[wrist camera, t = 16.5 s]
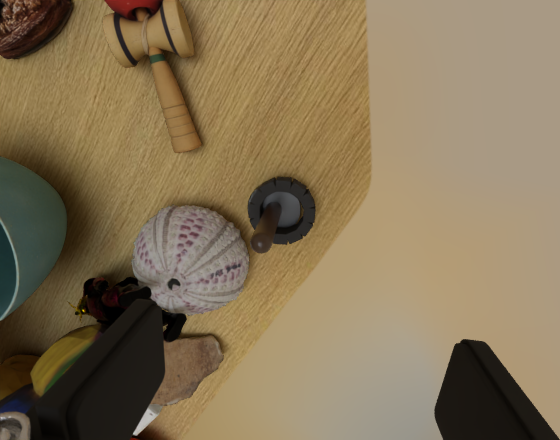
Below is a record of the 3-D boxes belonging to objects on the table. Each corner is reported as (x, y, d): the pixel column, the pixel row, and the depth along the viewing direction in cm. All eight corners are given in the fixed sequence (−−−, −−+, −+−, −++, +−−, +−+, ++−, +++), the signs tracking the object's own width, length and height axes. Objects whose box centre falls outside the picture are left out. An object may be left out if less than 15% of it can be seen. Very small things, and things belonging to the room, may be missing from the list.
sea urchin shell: (180, 176, 36) (145, 191, 28) (275, 244, 37) (267, 276, 30) (128, 259, 40) (86, 292, 32) (217, 317, 41) (196, 362, 34)
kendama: (234, 134, 35) (176, -67, 28) (211, 149, 30) (130, -96, 22) (176, 146, 38) (108, -36, 30) (145, 162, 32) (52, -55, 25)
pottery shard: (212, 316, 44) (102, 361, 41) (210, 315, 42) (93, 362, 39) (232, 376, 42) (116, 429, 39) (231, 378, 40) (107, 435, 36)
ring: (297, 165, 33) (296, 168, 31) (324, 221, 35) (325, 228, 33) (241, 193, 35) (236, 198, 33) (269, 246, 37) (267, 254, 34)
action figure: (174, 395, 29) (93, 364, 42) (217, 349, 34) (132, 334, 46) (93, 258, 26) (31, 269, 38) (153, 226, 30) (80, 246, 43)
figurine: (151, 373, 35) (32, 497, 31) (156, 352, 41) (59, 452, 38) (84, 314, 33) (-51, 437, 29) (100, 302, 40) (-8, 401, 36)
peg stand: (293, 175, 35) (286, 202, 23) (306, 225, 36) (305, 272, 25) (242, 188, 36) (212, 219, 24) (257, 236, 37) (234, 286, 26)
